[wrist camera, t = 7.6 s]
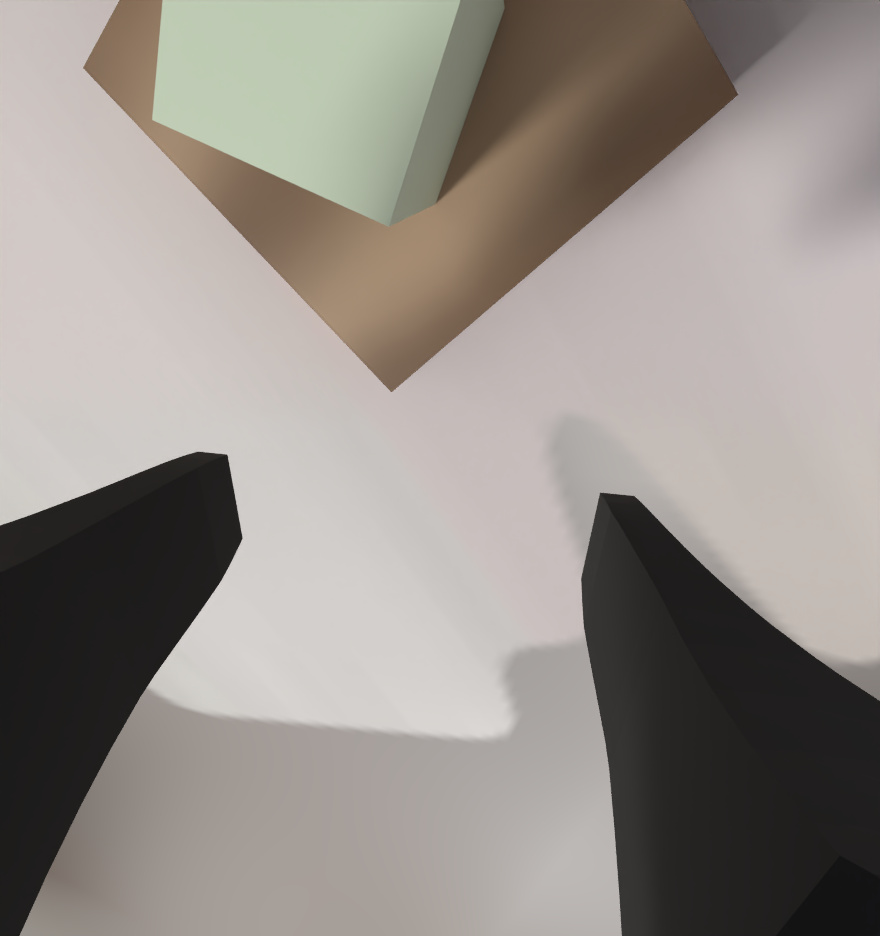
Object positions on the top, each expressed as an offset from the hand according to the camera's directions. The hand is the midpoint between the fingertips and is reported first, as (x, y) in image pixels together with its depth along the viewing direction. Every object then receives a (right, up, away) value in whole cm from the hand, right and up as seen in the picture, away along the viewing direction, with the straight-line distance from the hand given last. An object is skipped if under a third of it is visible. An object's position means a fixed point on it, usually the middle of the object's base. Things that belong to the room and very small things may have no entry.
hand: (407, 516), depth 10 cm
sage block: (-1, +11, +3) cm, 11 cm away
